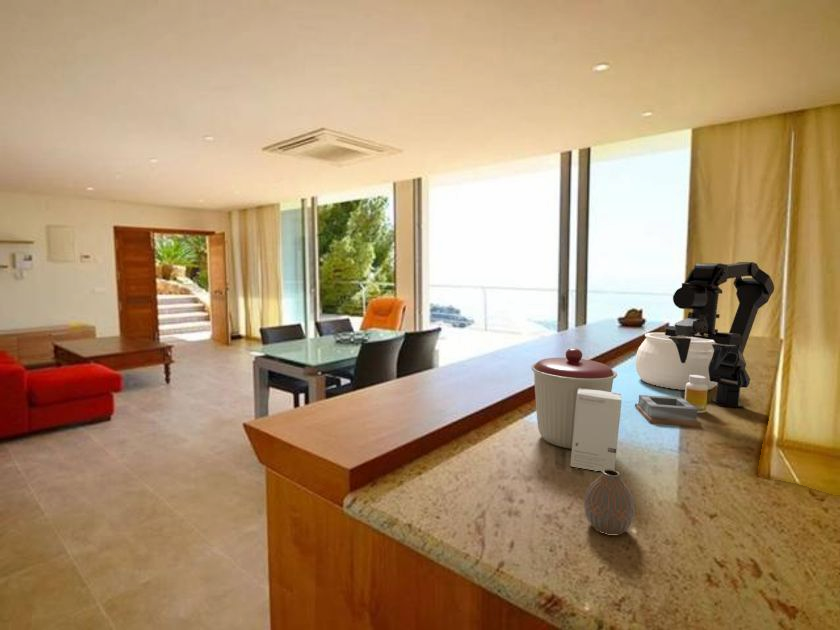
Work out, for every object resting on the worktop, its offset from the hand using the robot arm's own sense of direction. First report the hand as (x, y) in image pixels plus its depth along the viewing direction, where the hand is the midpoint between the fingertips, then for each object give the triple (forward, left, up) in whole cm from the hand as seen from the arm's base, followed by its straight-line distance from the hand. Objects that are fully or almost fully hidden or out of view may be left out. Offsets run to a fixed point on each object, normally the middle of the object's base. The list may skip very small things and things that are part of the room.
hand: (698, 366), depth 128 cm
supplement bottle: (-1, +1, -13) cm, 13 cm away
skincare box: (+45, -34, -13) cm, 58 cm away
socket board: (+7, -9, -13) cm, 17 cm away
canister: (+32, -37, -13) cm, 51 cm away
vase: (+68, -36, -13) cm, 78 cm away
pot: (-34, +7, -13) cm, 37 cm away
